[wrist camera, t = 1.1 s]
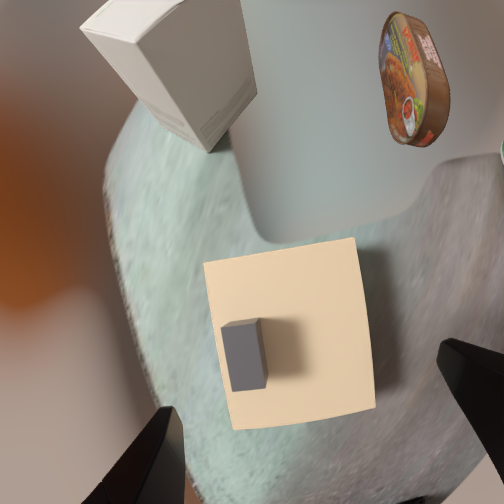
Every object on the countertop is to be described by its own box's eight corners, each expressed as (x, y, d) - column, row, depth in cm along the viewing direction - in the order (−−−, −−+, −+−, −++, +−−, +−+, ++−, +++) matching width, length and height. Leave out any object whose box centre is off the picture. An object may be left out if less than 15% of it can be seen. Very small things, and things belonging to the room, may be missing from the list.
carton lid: (373, 404, 18) (387, 424, 15) (234, 427, 19) (225, 449, 16) (352, 238, 20) (365, 228, 16) (205, 263, 21) (189, 259, 17)
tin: (374, 46, 25) (390, -6, 17) (399, 52, 25) (419, 2, 17) (390, 159, 24) (426, 112, 16) (420, 164, 24) (463, 122, 15)
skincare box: (211, 72, 27) (165, -45, 11) (263, 95, 26) (241, -40, 10) (159, 130, 27) (73, 26, 11) (209, 160, 26) (134, 38, 10)
